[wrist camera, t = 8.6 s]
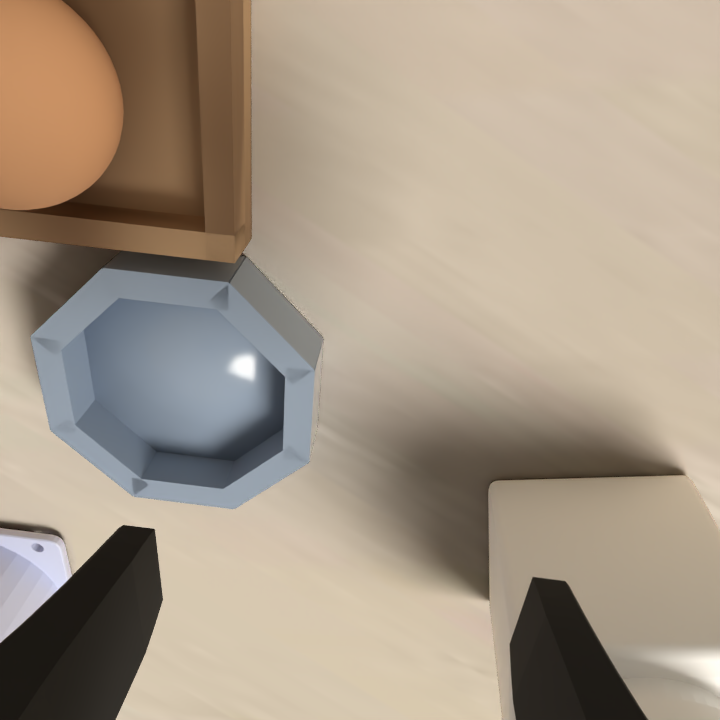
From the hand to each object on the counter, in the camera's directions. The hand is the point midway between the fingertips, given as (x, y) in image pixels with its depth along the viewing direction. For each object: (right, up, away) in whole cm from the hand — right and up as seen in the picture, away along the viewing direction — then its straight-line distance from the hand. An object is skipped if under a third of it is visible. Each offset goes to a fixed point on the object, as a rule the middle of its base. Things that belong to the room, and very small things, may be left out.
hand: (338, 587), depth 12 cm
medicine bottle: (+9, -3, +13) cm, 16 cm away
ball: (-8, +12, +4) cm, 14 cm away
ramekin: (-5, +4, +10) cm, 12 cm away
